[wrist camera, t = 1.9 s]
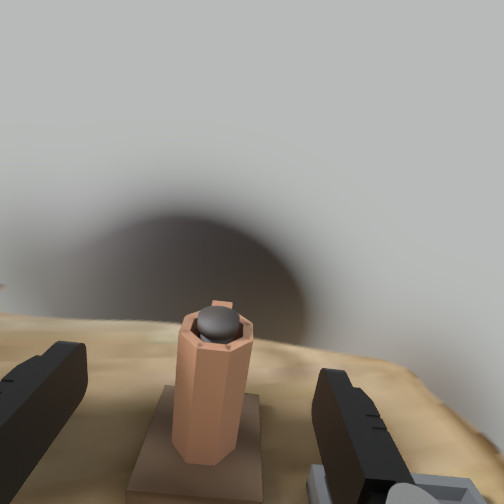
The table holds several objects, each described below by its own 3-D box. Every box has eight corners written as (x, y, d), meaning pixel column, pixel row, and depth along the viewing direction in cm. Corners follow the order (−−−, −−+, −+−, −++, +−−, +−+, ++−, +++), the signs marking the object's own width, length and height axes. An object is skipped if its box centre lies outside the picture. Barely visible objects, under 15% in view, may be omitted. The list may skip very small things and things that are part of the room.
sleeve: (234, 467, 23) (253, 354, 20) (166, 461, 23) (173, 345, 19) (237, 398, 30) (252, 305, 26) (184, 392, 29) (192, 297, 26)
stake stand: (260, 514, 21) (292, 369, 17) (125, 504, 21) (126, 350, 17) (256, 405, 31) (277, 294, 27) (164, 396, 30) (170, 281, 26)
